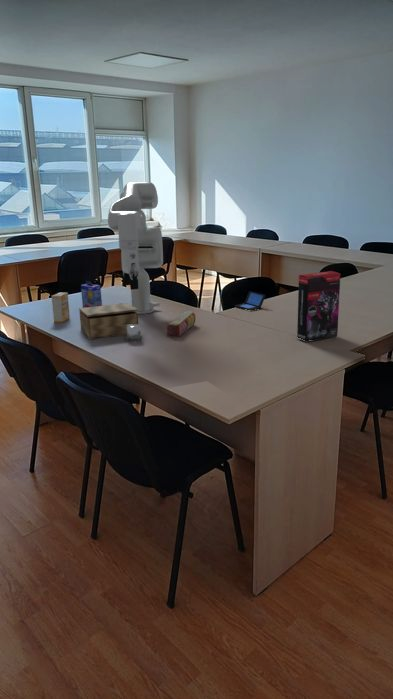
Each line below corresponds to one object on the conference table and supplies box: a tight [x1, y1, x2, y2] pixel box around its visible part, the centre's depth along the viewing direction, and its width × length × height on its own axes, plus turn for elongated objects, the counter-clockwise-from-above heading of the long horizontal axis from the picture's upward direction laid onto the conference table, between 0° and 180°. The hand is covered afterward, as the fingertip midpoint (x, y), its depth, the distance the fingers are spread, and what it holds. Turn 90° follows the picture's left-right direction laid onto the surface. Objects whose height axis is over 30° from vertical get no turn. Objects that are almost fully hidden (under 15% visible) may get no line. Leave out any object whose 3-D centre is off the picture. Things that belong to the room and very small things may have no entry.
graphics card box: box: [296, 270, 341, 341], centre depth 215 cm, size 17×7×27 cm, turn 117°
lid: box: [79, 303, 138, 317], centre depth 230 cm, size 22×17×1 cm
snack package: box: [166, 310, 196, 338], centre depth 232 cm, size 21×7×7 cm, turn 162°
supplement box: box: [51, 292, 71, 323], centre depth 250 cm, size 8×5×13 cm, turn 168°
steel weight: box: [125, 323, 142, 343], centre depth 220 cm, size 6×6×6 cm
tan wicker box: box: [78, 310, 140, 340], centre depth 232 cm, size 22×17×9 cm
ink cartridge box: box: [80, 280, 103, 308], centre depth 273 cm, size 10×6×14 cm, turn 54°
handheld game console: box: [234, 290, 266, 311], centre depth 270 cm, size 12×11×7 cm
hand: (130, 287), depth 214 cm, fingers open, 9 cm apart
